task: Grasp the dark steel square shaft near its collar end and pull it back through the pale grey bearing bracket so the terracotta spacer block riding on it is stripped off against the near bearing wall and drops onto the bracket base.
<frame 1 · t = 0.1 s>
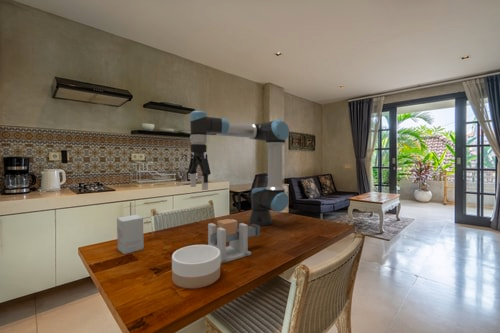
hand: (198, 188, 114), 28 cm above the table, fingers open, 13 cm apart
supplement box: (130, 249, 110), on the table
bracket: (227, 254, 104), on the table
shaft: (236, 234, 107), point 8 cm above the table, slide at 0.0 cm, touching spacer
spacer: (226, 232, 104), point 10 cm above the table, touching shaft
bowl: (196, 276, 86), on the table
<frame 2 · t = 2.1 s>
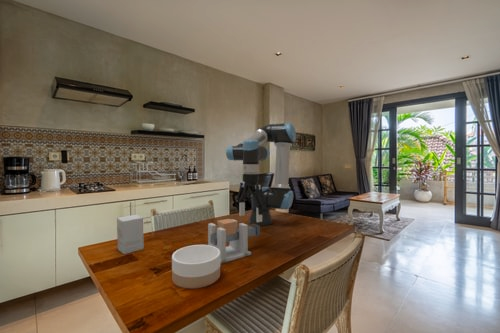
hand: (250, 218, 111), 14 cm above the table, fingers open, 13 cm apart
nothing on the table moved.
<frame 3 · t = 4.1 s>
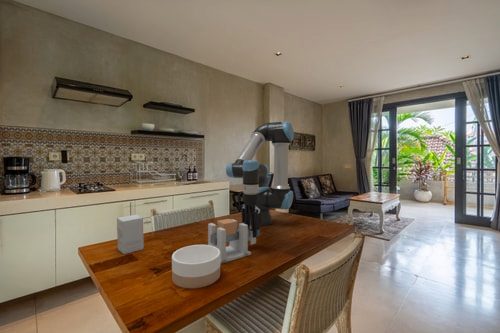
hand: (250, 242, 112), 3 cm above the table, fingers closed on shaft, 4 cm apart
shaft: (236, 234, 107), point 8 cm above the table, slide at 0.0 cm, touching gripper, spacer
everything else where it was.
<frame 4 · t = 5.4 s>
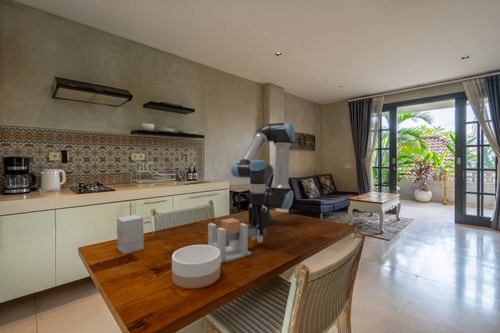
hand: (257, 240, 114), 3 cm above the table, fingers closed on shaft, 4 cm apart
shaft: (243, 232, 109), point 8 cm above the table, slide at 4.0 cm, touching gripper
spacer: (230, 231, 105), point 10 cm above the table
everything else where it was.
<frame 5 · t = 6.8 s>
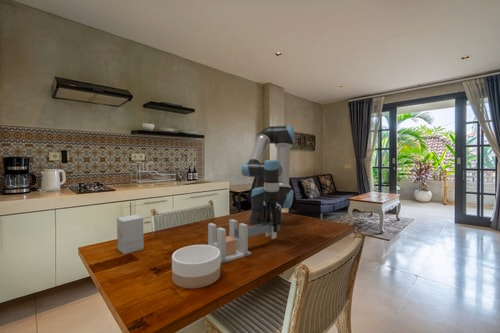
hand: (271, 236, 119), 3 cm above the table, fingers closed on shaft, 4 cm apart
shaft: (258, 229, 114), point 8 cm above the table, slide at 12.7 cm, touching gripper
spacer: (232, 244, 106), point 4 cm above the table, tilted 90°, touching bracket
everything else where it was.
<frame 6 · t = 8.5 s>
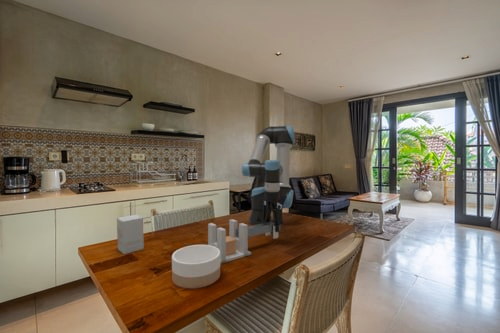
hand: (271, 236, 120), 3 cm above the table, fingers open, 5 cm apart
shaft: (259, 229, 115), point 8 cm above the table, slide at 13.2 cm
everything else where it was.
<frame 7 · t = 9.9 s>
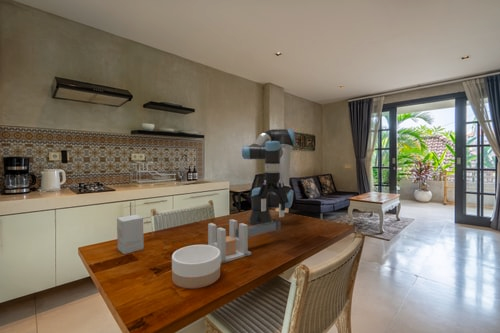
hand: (272, 213, 120), 14 cm above the table, fingers open, 13 cm apart
nothing on the table moved.
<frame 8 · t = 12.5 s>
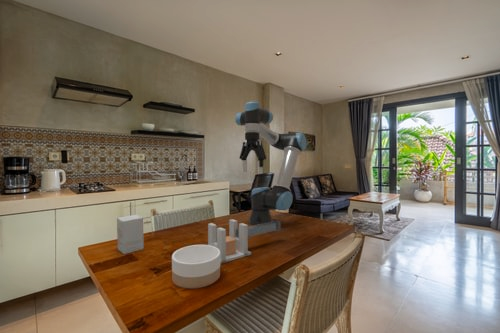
hand: (252, 172, 125), 35 cm above the table, fingers open, 13 cm apart
nothing on the table moved.
at the end: shaft slide at 13.2 cm; spacer point 4.0 cm above the table; spacer inside the target area (2.5 cm from its centre), point 4.0 cm above the table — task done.
